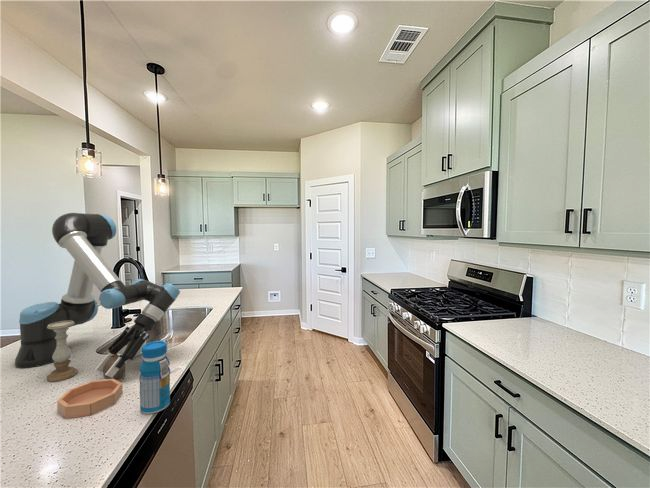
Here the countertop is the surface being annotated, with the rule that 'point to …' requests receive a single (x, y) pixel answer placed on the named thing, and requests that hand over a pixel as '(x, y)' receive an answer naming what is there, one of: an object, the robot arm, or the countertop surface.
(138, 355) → the lidded jar
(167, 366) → the beverage bottle
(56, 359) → the candle holder
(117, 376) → the vase
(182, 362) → the fork
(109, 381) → the terracotta dish
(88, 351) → the countertop surface
